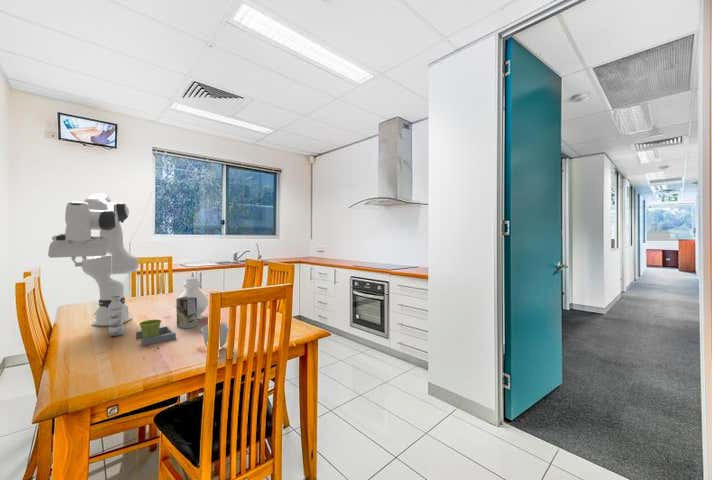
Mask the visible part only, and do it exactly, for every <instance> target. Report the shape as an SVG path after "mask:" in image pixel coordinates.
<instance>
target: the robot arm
mask: <svg viewBox="0 0 712 480" xmlns="http://www.w3.org/2000/svg"><path fill="white" fill-rule="evenodd" d="M64 213H65V214H64V215H65V217H64V221H65V225H66V226H65V232H64V233H59V234H56V235H53V236H52V237H51V240H52V242H50V243H49V246H48V251H47V253H48V254H47V255H48V258H54V259H55V258H71V260H72V261H73V264H74V267H81V269H82V272H83V273H84V274H85V275H87V276H89V277H90V278H92V279H94V281H95V282H96V283H97V285H98V291H99V299H98V306H99V307H98V308H97V309H95V311H94V315H93V316H95V317H94V320H93V321H92V322H91V324H90V325H91V326H92V327H93V326H102V327H103V326H105V327H106V326H109V322H110V318H109V312H108V306H109V304H110V303H111V302H112V301H111V297H113V296H120V299H121V300H120V302H122V304H123V306H124V309H123V316H122V317H123V323H126V322H129V321H132V320H133V317H132V316H129V306H128V305H127V304H126V297H125V285H124V283H123V282H122V281H119V280H117V279H113V278H111V275H113V276H114V275H125V274H131V273H134V272H136V271H137V270H138V268H139V266H140V263H139V259H138V258H137V256H135V255H132V254H130V252H128V251H127V250H126V248H125V246H124V238H123V237H124V236H123V229H122V225H121V224H122V223H123V224H124V222H125V220H127V219H128V217H129V214H130V210H129V208H128V206H127V204H126V203H124V202H119V201H118V202H111V198H110V197H109V196H107V195H106V194H105V193H101V192H100V193H94V194H91V195H88V197H86V198H85V199H84V200H83V201H69V202H67V203H66V207H65V212H64ZM93 230H94V231H95V230H97V231H99V236H92V231H93ZM107 254H108V255H107ZM77 257H81V259H82V261H79V262H77V261H76V260H77V259H76V258H77Z"/></svg>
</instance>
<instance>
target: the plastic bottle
mask: <svg viewBox="0 0 712 480" xmlns="http://www.w3.org/2000/svg"><path fill="white" fill-rule="evenodd" d="M120 300H121V299H120V296H113V297H111V301H112V302H111V303H110V304H109V306H108V312H109V318H110V322H109V325H108V336H111V337H116V336H117V337H118V336H120V335H123V334H124V333H125V326H124V322H123V317H122V316H123V309H124V306H123V304H122V302H120Z"/></svg>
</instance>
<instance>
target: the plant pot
mask: <svg viewBox="0 0 712 480" xmlns="http://www.w3.org/2000/svg"><path fill="white" fill-rule="evenodd" d="M161 323H162V319H148V320H144V321H141V322H138V325H139V326H140V329H141V330H140V331H142V335H143V337H142V339H143V338H149V337H154V336H159V335H160V334H159V327H161V326H160V325H161Z"/></svg>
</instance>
